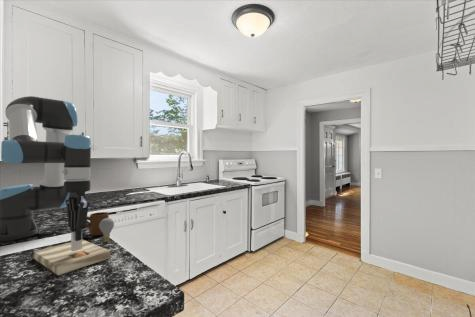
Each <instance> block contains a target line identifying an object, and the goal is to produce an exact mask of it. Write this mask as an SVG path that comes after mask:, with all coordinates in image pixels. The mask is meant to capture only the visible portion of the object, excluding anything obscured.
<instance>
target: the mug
mask: <svg viewBox="0 0 475 317" xmlns="http://www.w3.org/2000/svg"><path fill="white" fill-rule="evenodd" d="M105 218H109V212H106V211H103V212H101V211H99V212H94V213H90V215H89V216H88V215H87V221H89V222H88V223H87V222H86V228H88V229H89V234H90V236H91V237H96V236H98V235H99V236H104V235H103V233H102V231H101V230H100V228H99V224H100V222H101V221H102V220H103V219H105Z"/></svg>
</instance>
